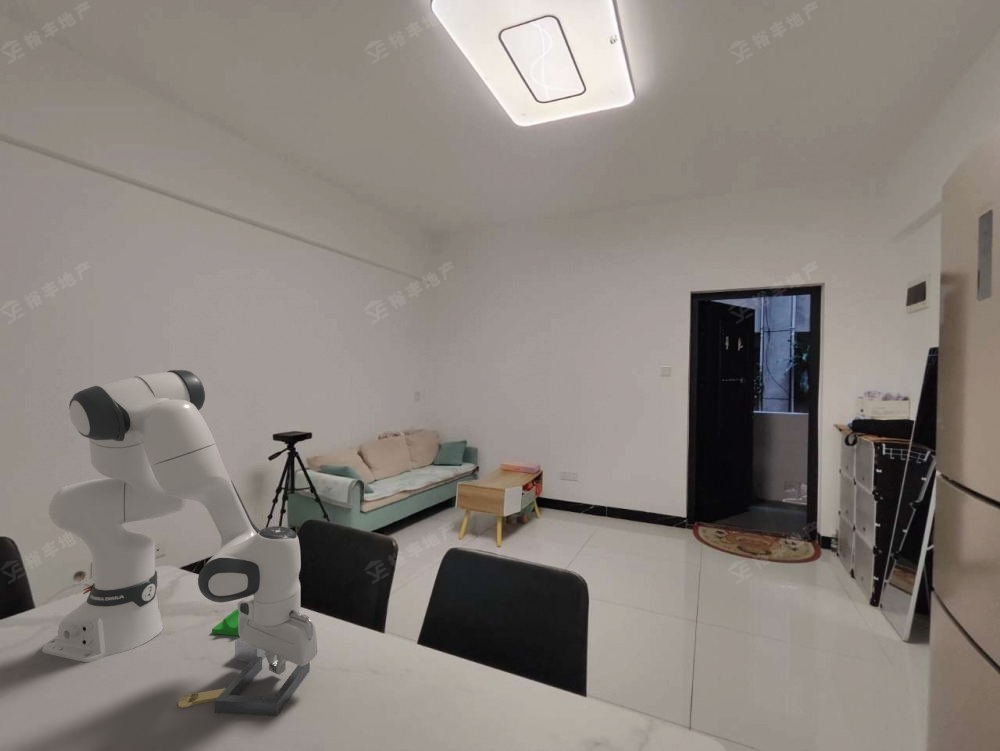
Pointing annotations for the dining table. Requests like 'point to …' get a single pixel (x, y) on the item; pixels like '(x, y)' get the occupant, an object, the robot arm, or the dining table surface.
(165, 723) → the dining table surface
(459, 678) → the dining table surface
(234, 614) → the pipe clamp
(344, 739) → the dining table surface
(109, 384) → the robot arm
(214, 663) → the dining table surface
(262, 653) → the block
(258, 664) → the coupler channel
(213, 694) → the brass key
